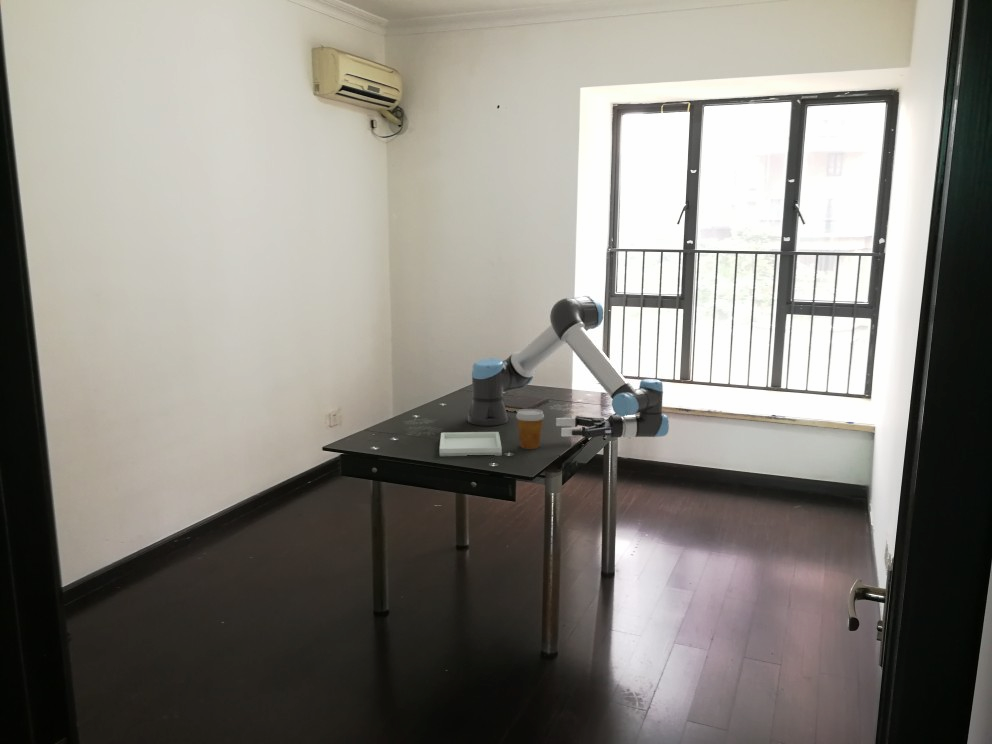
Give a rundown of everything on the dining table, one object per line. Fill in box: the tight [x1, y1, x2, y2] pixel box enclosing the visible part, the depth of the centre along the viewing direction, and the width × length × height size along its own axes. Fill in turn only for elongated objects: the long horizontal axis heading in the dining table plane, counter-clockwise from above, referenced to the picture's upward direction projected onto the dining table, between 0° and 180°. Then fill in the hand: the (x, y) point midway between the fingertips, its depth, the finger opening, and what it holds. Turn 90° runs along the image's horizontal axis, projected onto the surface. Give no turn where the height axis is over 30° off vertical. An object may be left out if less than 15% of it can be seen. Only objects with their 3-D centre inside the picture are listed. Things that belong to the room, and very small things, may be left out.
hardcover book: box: [503, 394, 550, 413], centre depth 314 cm, size 16×23×2 cm
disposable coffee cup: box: [515, 408, 545, 450], centre depth 252 cm, size 10×10×12 cm
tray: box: [439, 431, 503, 457], centre depth 252 cm, size 20×20×2 cm
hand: (558, 427), depth 252 cm, fingers open, 13 cm apart
